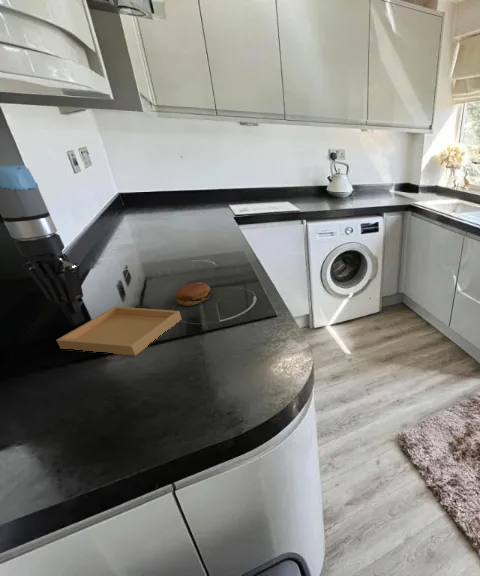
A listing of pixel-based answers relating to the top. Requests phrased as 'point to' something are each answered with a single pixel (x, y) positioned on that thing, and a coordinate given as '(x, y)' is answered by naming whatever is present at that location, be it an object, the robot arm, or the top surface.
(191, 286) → the burger
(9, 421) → the top surface
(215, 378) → the top surface
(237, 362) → the top surface
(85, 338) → the tray
